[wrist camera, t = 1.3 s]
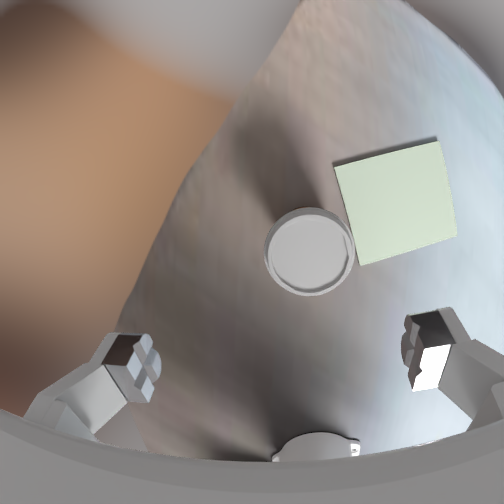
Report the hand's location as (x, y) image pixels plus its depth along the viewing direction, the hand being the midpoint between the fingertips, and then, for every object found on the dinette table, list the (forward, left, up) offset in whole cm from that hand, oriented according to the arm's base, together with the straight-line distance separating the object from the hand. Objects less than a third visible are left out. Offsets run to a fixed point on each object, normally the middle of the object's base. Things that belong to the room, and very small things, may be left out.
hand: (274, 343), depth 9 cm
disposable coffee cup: (-5, -1, -34) cm, 35 cm away
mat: (-5, -15, -34) cm, 38 cm away
